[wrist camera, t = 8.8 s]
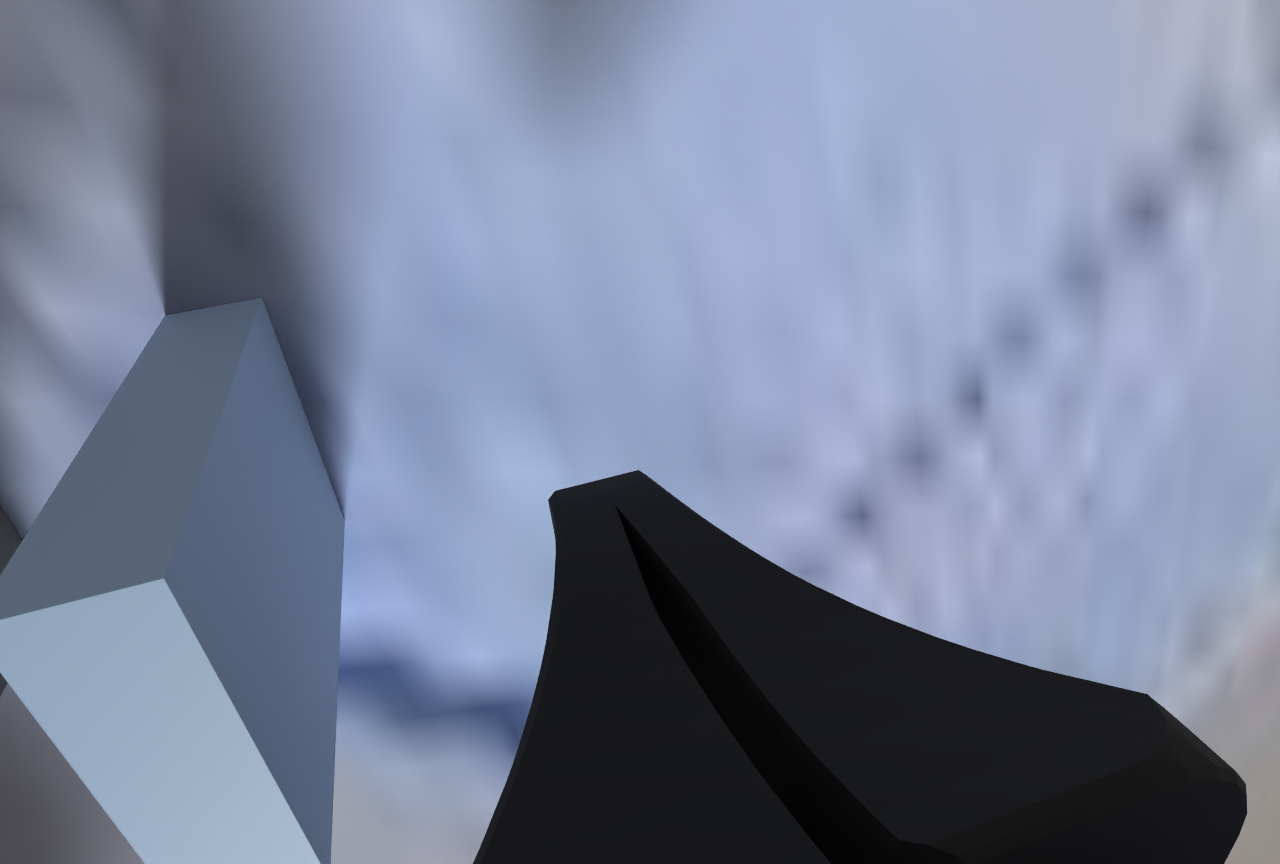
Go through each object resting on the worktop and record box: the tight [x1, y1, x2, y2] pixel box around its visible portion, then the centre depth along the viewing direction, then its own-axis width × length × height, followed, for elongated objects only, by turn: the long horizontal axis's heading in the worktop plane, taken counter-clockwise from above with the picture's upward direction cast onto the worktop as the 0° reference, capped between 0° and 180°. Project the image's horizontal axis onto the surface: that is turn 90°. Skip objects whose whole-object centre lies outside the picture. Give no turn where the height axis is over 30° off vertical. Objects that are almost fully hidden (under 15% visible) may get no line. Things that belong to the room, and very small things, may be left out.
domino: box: [0, 297, 345, 864], centre depth 12 cm, size 5×2×8 cm, turn 6°
